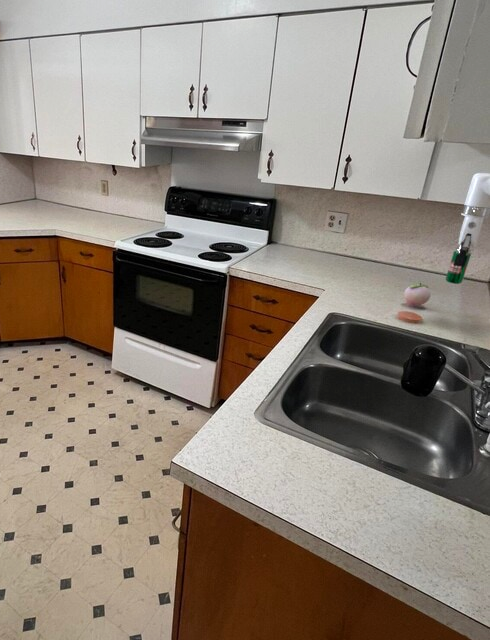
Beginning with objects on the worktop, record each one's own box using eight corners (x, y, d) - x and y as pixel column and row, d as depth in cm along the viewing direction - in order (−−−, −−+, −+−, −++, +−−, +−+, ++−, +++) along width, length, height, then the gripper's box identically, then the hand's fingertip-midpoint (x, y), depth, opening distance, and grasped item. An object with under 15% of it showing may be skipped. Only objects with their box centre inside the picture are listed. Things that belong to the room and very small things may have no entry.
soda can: (442, 280, 152) (452, 248, 147) (450, 279, 154) (460, 246, 150) (456, 285, 148) (467, 251, 143) (464, 283, 150) (475, 250, 146)
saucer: (422, 318, 158) (423, 315, 158) (419, 325, 152) (420, 321, 152) (398, 312, 163) (399, 309, 162) (395, 319, 157) (396, 315, 156)
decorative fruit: (416, 311, 164) (423, 287, 161) (397, 304, 171) (404, 280, 167) (431, 308, 168) (439, 285, 164) (412, 301, 175) (419, 278, 171)
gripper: (490, 216, 133) (471, 271, 140) (488, 210, 146) (471, 261, 153) (462, 213, 137) (445, 267, 144) (462, 207, 150) (447, 257, 157)
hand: (459, 263), depth 148 cm, fingers closed on soda can, 5 cm apart
